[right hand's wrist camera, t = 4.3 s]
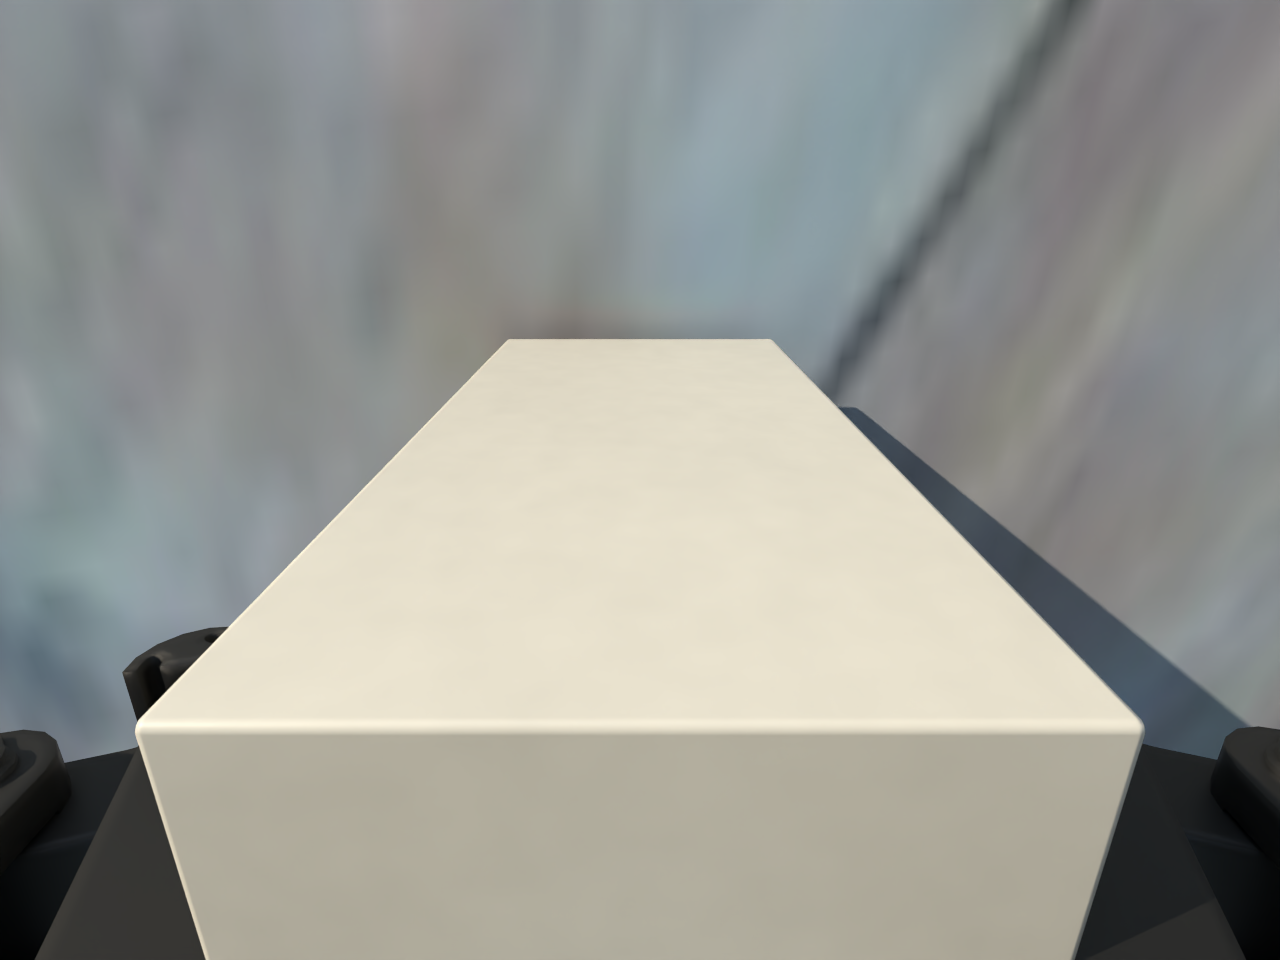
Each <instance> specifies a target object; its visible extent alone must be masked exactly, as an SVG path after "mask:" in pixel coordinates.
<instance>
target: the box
mask: <svg viewBox="0 0 1280 960" xmlns="http://www.w3.org/2000/svg"><path fill="white" fill-rule="evenodd" d="M135 734H136V738H137V741H138V744H139V747H140V750H141V754H142V757H143V760H144V763H145V766H146V770H147V773H148V776H149V779H150V782H151V786H152V789H153V792H154V795H155V798H156V802H157V805H158V808H159V811H160V815H161V818H162V821H163V824H164V827H165V831H166V834H167V837H168V840H169V843H170V847H171V850H172V853H173V856H174V859H175V863H176V866H177V869H178V872H179V875H180V879H181V882H182V885H183V888H184V891H185V895H186V898H187V901H188V904H189V907H190V911H191V914H192V917H193V920H194V923H195V927H196V930H197V933H198V936H199V939H200V943H201V946H202V949H203V952H204V955H205V959H206V960H1075V957H1076V954H1077V950H1078V947H1079V944H1080V941H1081V938H1082V934H1083V931H1084V928H1085V925H1086V922H1087V918H1088V915H1089V912H1090V909H1091V906H1092V902H1093V899H1094V896H1095V893H1096V890H1097V886H1098V883H1099V880H1100V877H1101V874H1102V870H1103V867H1104V864H1105V861H1106V858H1107V854H1108V851H1109V848H1110V845H1111V842H1112V838H1113V835H1114V832H1115V829H1116V826H1117V822H1118V819H1119V816H1120V813H1121V810H1122V807H1123V803H1124V800H1125V797H1126V794H1127V791H1128V787H1129V784H1130V781H1131V778H1132V775H1133V771H1134V768H1135V765H1136V762H1137V759H1138V755H1139V752H1140V749H1141V746H1142V743H1143V739H1144V736H1145V726H1144V724H1143V722H1142V720H1141V719H1140V718H1139V717H1138V716H1137V714H1136V713H1135V712H1134V711H1133V710H1132V709H1131V708H1130V707H1129V706H1128V705H1127V704H1126V703H1125V702H1124V701H1123V700H1122V699H1121V698H1120V697H1119V696H1118V695H1117V694H1116V693H1115V692H1114V691H1113V690H1112V689H1111V688H1110V687H1109V686H1108V685H1107V684H1106V683H1105V682H1104V681H1103V680H1102V679H1101V677H1100V676H1099V675H1098V674H1097V673H1096V672H1095V671H1094V670H1093V669H1092V668H1091V667H1090V666H1089V665H1088V664H1087V663H1086V662H1085V661H1084V660H1083V659H1082V658H1081V657H1080V656H1079V655H1078V654H1077V653H1076V652H1075V651H1074V650H1073V649H1072V648H1071V647H1070V646H1069V645H1068V644H1067V643H1066V641H1065V640H1064V639H1063V638H1062V637H1061V636H1060V635H1059V634H1058V633H1057V632H1056V631H1055V630H1054V629H1053V628H1052V627H1051V626H1050V625H1049V624H1048V623H1047V622H1046V621H1045V620H1044V619H1043V618H1042V617H1041V616H1040V615H1039V614H1038V613H1037V612H1036V611H1035V610H1034V609H1033V608H1032V607H1031V605H1030V604H1029V603H1028V602H1027V601H1026V600H1025V599H1024V598H1023V597H1022V596H1021V595H1020V594H1019V593H1018V592H1017V591H1016V590H1015V589H1014V588H1013V587H1012V586H1011V585H1010V584H1009V583H1008V582H1007V581H1006V580H1005V579H1004V578H1003V577H1002V576H1001V575H1000V574H999V573H998V572H997V571H996V569H995V568H994V567H993V566H992V565H991V564H990V563H989V562H988V561H987V560H986V559H985V558H984V557H983V556H982V555H981V554H980V553H979V552H978V551H977V550H976V549H975V548H974V547H973V546H972V545H971V544H970V543H969V542H968V541H967V540H966V539H965V538H964V537H963V536H962V535H961V534H960V532H959V531H958V530H957V529H956V528H955V527H954V526H953V525H952V524H951V523H950V522H949V521H948V520H947V519H946V518H945V517H944V516H943V515H942V514H941V513H940V512H939V511H938V510H937V509H936V508H935V507H934V506H933V505H932V504H931V503H930V502H929V501H928V500H927V499H926V498H925V496H924V495H923V494H922V493H921V492H920V491H919V490H918V489H917V488H916V487H915V486H914V485H913V484H912V483H911V482H910V481H909V480H908V479H907V478H906V477H905V476H904V475H903V474H902V473H901V472H900V471H899V470H898V469H897V468H896V467H895V466H894V465H893V464H892V463H891V462H890V460H889V459H888V458H887V457H886V456H885V455H884V454H883V453H882V452H881V451H880V450H879V449H878V448H877V447H876V446H875V445H874V444H873V443H872V442H871V441H870V440H869V439H868V438H867V437H866V436H865V435H864V434H863V433H862V432H861V431H860V430H859V429H858V428H857V427H856V426H855V425H854V423H853V422H852V421H851V420H850V419H849V418H848V417H847V416H846V415H845V414H844V413H843V412H842V411H841V410H840V409H839V408H838V407H837V406H836V405H835V404H834V403H833V402H832V401H831V400H830V399H829V398H828V397H827V396H826V395H825V394H824V393H823V392H822V391H821V390H820V389H819V387H818V386H817V385H816V384H815V383H814V382H813V381H812V380H811V379H810V378H809V377H808V376H807V375H806V374H805V373H804V372H803V371H802V370H801V369H800V368H799V367H798V366H797V365H796V364H795V363H794V362H793V361H792V360H791V359H790V358H789V357H788V356H787V355H786V354H785V353H784V351H783V350H782V349H781V348H780V347H779V346H778V345H777V344H776V343H775V342H774V341H773V340H771V339H509V340H507V341H506V342H505V343H504V344H503V345H502V346H501V347H500V348H499V350H498V351H497V352H496V353H495V354H494V355H493V356H492V357H491V358H490V359H489V360H488V361H487V362H486V363H485V364H484V365H483V366H482V367H481V368H480V369H479V370H478V371H477V372H476V373H475V374H474V375H473V376H472V377H471V378H470V379H469V380H468V381H467V382H466V384H465V385H464V386H463V387H462V388H461V389H460V390H459V391H458V392H457V393H456V394H455V395H454V396H453V397H452V398H451V399H450V400H449V401H448V402H447V403H446V404H445V405H444V406H443V407H442V408H441V409H440V410H439V411H438V412H437V413H436V414H435V415H434V416H433V417H432V419H431V420H430V421H429V422H428V423H427V424H426V425H425V426H424V427H423V428H422V429H421V430H420V431H419V432H418V433H417V434H416V435H415V436H414V437H413V438H412V439H411V440H410V441H409V442H408V443H407V444H406V445H405V446H404V447H403V448H402V449H401V450H400V451H399V452H398V454H397V455H396V456H395V457H394V458H393V459H392V460H391V461H390V462H389V463H388V464H387V465H386V466H385V467H384V468H383V469H382V470H381V471H380V472H379V473H378V474H377V475H376V476H375V477H374V478H373V479H372V480H371V481H370V482H369V483H368V484H367V485H366V486H365V487H364V489H363V490H362V491H361V492H360V493H359V494H358V495H357V496H356V497H355V498H354V499H353V500H352V501H351V502H350V503H349V504H348V505H347V506H346V507H345V508H344V509H343V510H342V511H341V512H340V513H339V514H338V515H337V516H336V517H335V518H334V519H333V520H332V521H331V522H330V524H329V525H328V526H327V527H326V528H325V529H324V530H323V531H322V532H321V533H320V534H319V535H318V536H317V537H316V538H315V539H314V540H313V541H312V542H311V543H310V544H309V545H308V546H307V547H306V548H305V549H304V550H303V551H302V552H301V553H300V554H299V555H298V556H297V558H296V559H295V560H294V561H293V562H292V563H291V564H290V565H289V566H288V567H287V568H286V569H285V570H284V571H283V572H282V573H281V574H280V575H279V576H278V577H277V578H276V579H275V580H274V581H273V582H272V583H271V584H270V585H269V586H268V587H267V588H266V589H265V590H264V591H263V593H262V594H261V595H260V596H259V597H258V598H257V599H256V600H255V601H254V602H253V603H252V604H251V605H250V606H249V607H248V608H247V609H246V610H245V611H244V612H243V613H242V614H241V615H240V616H239V617H238V618H237V619H236V620H235V621H234V622H233V623H232V624H231V625H230V626H229V628H228V629H227V630H226V631H225V632H224V633H223V634H222V635H221V636H220V637H219V638H218V639H217V640H216V641H215V642H214V643H213V644H212V645H211V646H210V647H209V648H208V649H207V650H206V651H205V652H204V653H203V654H202V655H201V656H200V657H199V658H198V659H197V660H196V661H195V663H194V664H193V665H192V666H191V667H190V668H189V669H188V670H187V671H186V672H185V673H184V674H183V675H182V676H181V677H180V678H179V679H178V680H177V681H176V682H175V683H174V684H173V685H172V686H171V687H170V688H169V689H168V690H167V691H166V692H165V693H164V694H163V695H162V697H161V698H160V699H159V700H158V701H157V702H156V703H155V704H154V705H153V706H152V707H151V708H150V709H149V710H148V711H147V712H146V713H145V714H144V715H143V716H142V717H141V718H140V719H139V720H138V723H137V725H136V730H135Z"/></svg>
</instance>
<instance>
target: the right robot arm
mask: <svg viewBox="0 0 1280 960" xmlns="http://www.w3.org/2000/svg"><path fill="white" fill-rule="evenodd" d="M228 628H229V627H217V628H207V629H203V630H199V631H194V632H190V633H186V634H182V635H180V636H177V637H175V638H172V639H170V640H167V641H165V642H162V643H160V644H157V645H156V646H154V647H152V648H151V649H149V650H148V651H146V652H144V653H143V654H141V655H140V656H138V657H136V658H135V659H134V660H133V661H132V663H131V664H130V665H129V666H128V667H127V668H126V669H125V670H124V671H123V672H122V673H123V676H124V679H125V683H126V686H127V689H128V692H129V696H130V699H131V702H132V705H133V709H134V712H135V715H136V718H137V722H138V720H139V719H140V718H141V717H142V716H143V715H144V714H145V713H146V712H147V711H148V710H149V709H150V708H151V707H152V706H153V705H154V704H155V703H156V702H157V701H158V700H159V699H160V698H161V697H162V695H163V694H164V693H165V692H166V691H167V690H168V689H169V688H170V687H171V686H172V685H173V684H174V683H175V682H176V681H177V680H178V679H179V678H180V677H181V676H182V675H183V674H184V673H185V672H186V671H187V670H188V669H189V668H190V667H191V666H192V665H193V664H194V663H195V661H196V660H197V659H198V658H199V657H200V656H201V655H202V654H203V653H204V652H205V651H206V650H207V649H208V648H209V647H210V646H211V645H212V644H213V643H214V642H215V641H216V640H217V639H218V638H219V637H220V636H221V635H222V634H223V633H224V632H225V631H226V630H227V629H228ZM0 960H206V959H205V955H204V952H203V949H202V946H201V943H200V939H199V936H198V933H197V930H196V927H195V923H194V920H193V917H192V914H191V911H190V907H189V904H188V901H187V898H186V895H185V891H184V888H183V885H182V882H181V879H180V875H179V872H178V869H177V866H176V863H175V859H174V856H173V853H172V850H171V847H170V843H169V840H168V837H167V834H166V831H165V827H164V824H163V821H162V818H161V815H160V811H159V808H158V805H157V802H156V798H155V795H154V792H153V789H152V786H151V782H150V779H149V776H148V773H147V770H146V766H145V763H144V760H143V757H142V754H141V750H140V747H139V745H138V747H136V748H133V749H129V750H125V751H120V752H115V753H110V754H105V755H101V756H96V757H91V758H86V759H81V760H77V761H72V762H67V763H64V761H63V758H62V755H61V752H60V750H59V747H58V744H57V741H56V740H55V739H54V738H52V737H51V736H49V735H48V734H47V733H45V732H40V731H31V730H19V731H12V732H5V733H0ZM1075 960H1280V730H1278V729H1271V728H1265V727H1250V728H1240V729H1236V730H1235V731H1233V732H1232V733H1231V734H1229V735H1228V736H1227V737H1226V738H1225V741H1224V743H1223V746H1222V749H1221V752H1220V754H1219V757H1218V760H1215V759H1210V758H1205V757H1200V756H1195V755H1191V754H1186V753H1181V752H1176V751H1171V750H1166V749H1162V748H1157V747H1153V746H1149V745H1145V744H1142V746H1141V749H1140V752H1139V755H1138V759H1137V762H1136V765H1135V768H1134V771H1133V775H1132V778H1131V781H1130V784H1129V787H1128V791H1127V794H1126V797H1125V800H1124V803H1123V807H1122V810H1121V813H1120V816H1119V819H1118V822H1117V826H1116V829H1115V832H1114V835H1113V838H1112V842H1111V845H1110V848H1109V851H1108V854H1107V858H1106V861H1105V864H1104V867H1103V870H1102V874H1101V877H1100V880H1099V883H1098V886H1097V890H1096V893H1095V896H1094V899H1093V902H1092V906H1091V909H1090V912H1089V915H1088V918H1087V922H1086V925H1085V928H1084V931H1083V934H1082V938H1081V941H1080V944H1079V947H1078V950H1077V954H1076V957H1075Z"/></svg>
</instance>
